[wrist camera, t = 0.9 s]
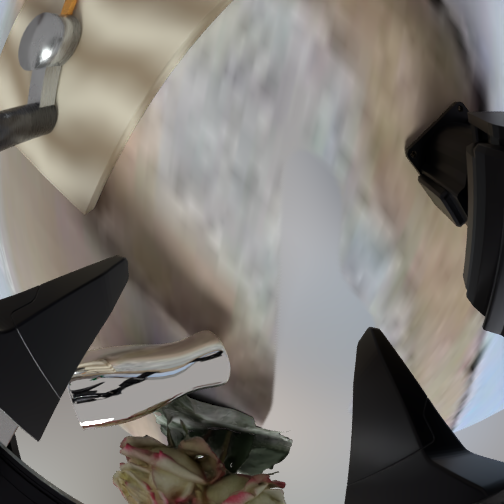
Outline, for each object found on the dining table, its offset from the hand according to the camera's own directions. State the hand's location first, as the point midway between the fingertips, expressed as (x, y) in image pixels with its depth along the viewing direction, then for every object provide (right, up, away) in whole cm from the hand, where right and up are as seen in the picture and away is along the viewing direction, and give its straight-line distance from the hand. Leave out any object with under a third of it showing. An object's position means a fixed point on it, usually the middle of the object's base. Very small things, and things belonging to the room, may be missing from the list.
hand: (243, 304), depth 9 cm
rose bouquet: (-7, -29, +33) cm, 45 cm away
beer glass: (-4, -9, +18) cm, 20 cm away
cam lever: (-15, +19, +4) cm, 25 cm away
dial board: (-14, +20, +5) cm, 26 cm away
